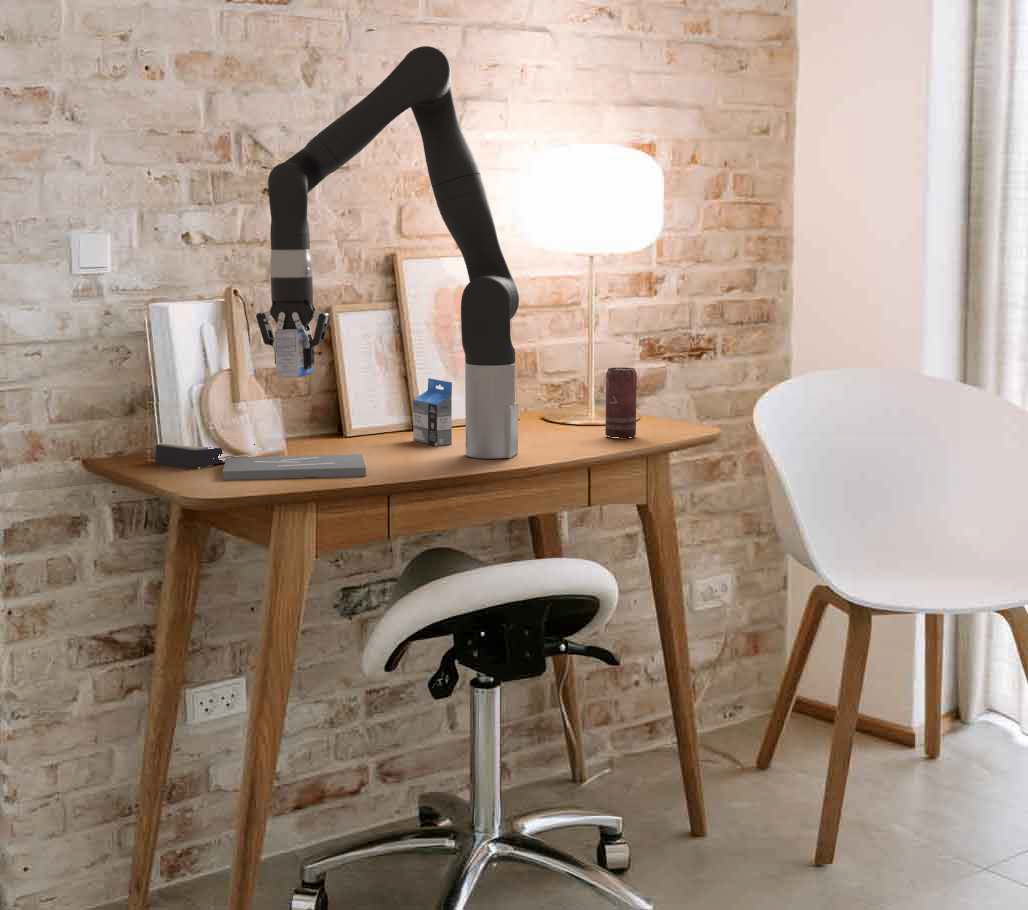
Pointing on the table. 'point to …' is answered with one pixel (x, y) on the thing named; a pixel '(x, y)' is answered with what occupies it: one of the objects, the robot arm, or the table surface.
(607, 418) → the can
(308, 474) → the slate board
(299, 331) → the medicine box
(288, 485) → the table surface
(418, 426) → the label tape cartridge
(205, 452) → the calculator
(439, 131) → the robot arm
